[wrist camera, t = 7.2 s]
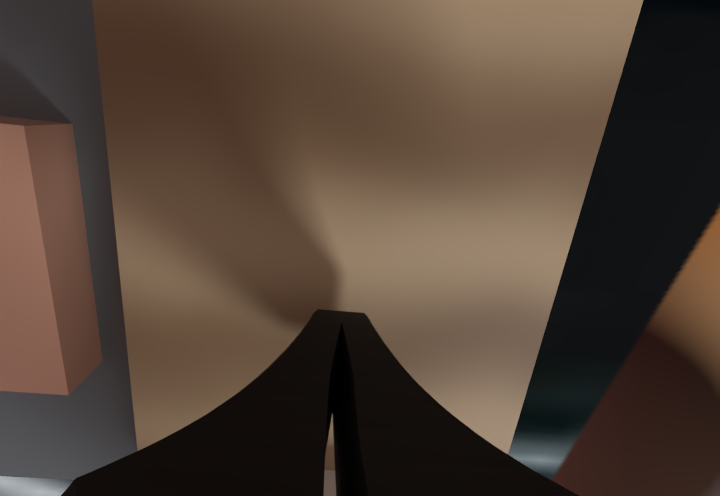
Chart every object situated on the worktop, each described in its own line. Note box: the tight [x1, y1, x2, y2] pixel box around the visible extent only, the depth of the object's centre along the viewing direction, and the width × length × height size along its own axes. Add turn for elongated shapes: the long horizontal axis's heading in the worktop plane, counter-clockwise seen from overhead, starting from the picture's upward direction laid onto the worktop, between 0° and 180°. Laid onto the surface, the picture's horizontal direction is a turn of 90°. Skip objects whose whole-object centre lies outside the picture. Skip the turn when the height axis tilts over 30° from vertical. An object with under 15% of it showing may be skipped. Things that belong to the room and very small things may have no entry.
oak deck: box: [92, 0, 643, 470], centre depth 13 cm, size 20×12×4 cm, turn 174°
